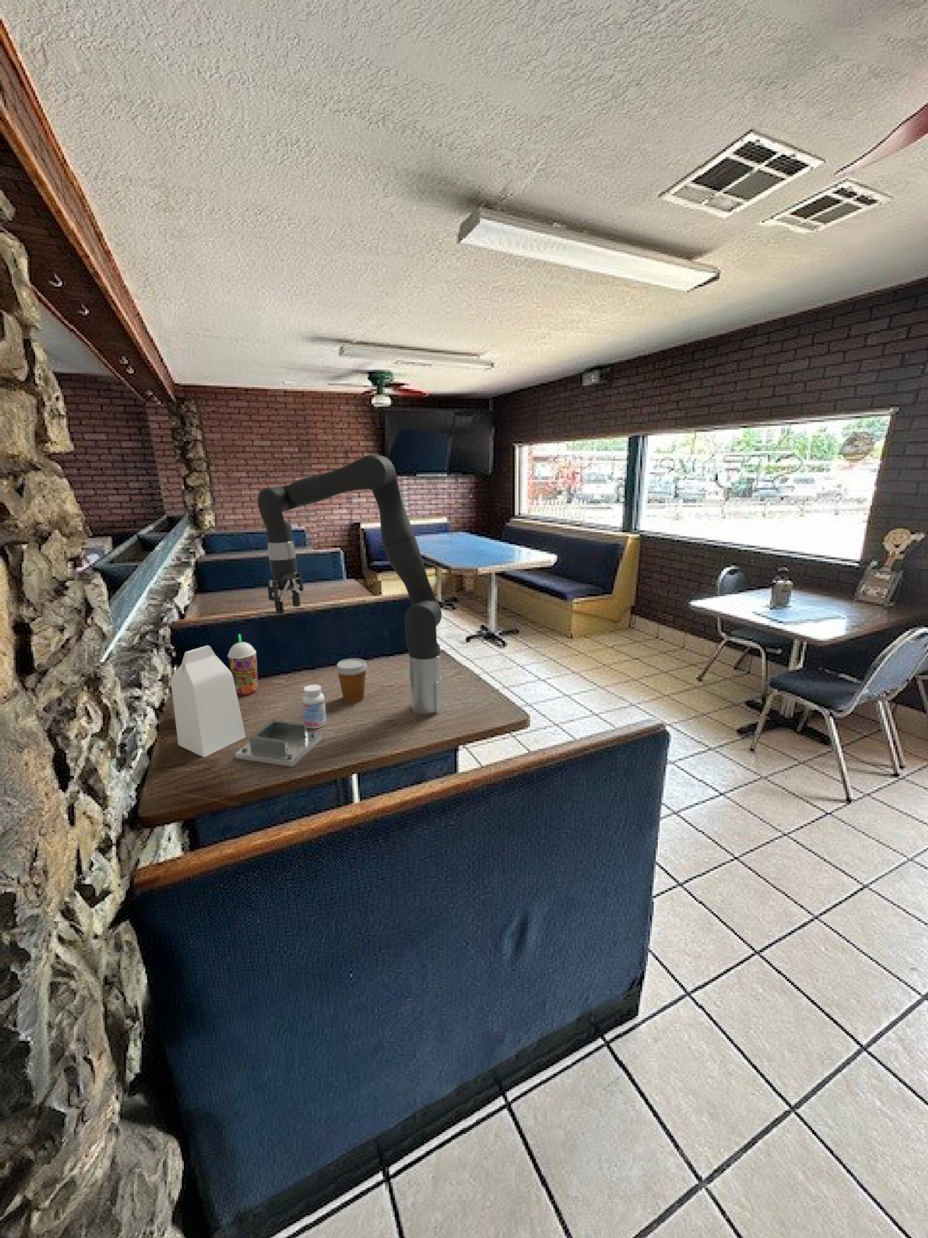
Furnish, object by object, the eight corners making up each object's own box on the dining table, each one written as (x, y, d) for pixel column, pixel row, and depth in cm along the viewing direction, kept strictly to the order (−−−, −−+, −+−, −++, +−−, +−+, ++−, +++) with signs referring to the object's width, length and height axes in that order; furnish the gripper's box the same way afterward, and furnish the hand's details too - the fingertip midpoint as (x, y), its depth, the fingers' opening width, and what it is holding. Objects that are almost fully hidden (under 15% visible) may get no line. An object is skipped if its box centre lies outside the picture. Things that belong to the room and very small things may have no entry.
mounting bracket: (322, 738, 136) (320, 721, 135) (292, 766, 123) (290, 748, 122) (269, 731, 140) (267, 715, 139) (236, 758, 127) (233, 740, 126)
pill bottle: (299, 727, 143) (296, 690, 140) (313, 717, 148) (309, 682, 145) (318, 731, 141) (314, 693, 138) (331, 721, 146) (327, 685, 143)
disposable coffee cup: (365, 705, 156) (363, 669, 152) (335, 705, 156) (331, 669, 153) (372, 692, 165) (369, 657, 162) (342, 692, 165) (340, 657, 162)
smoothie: (234, 700, 160) (225, 640, 155) (232, 690, 167) (224, 632, 162) (262, 695, 164) (255, 635, 158) (259, 685, 171) (252, 629, 165)
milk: (204, 757, 128) (187, 660, 121) (178, 745, 134) (161, 652, 127) (245, 736, 138) (233, 646, 131) (220, 726, 144) (206, 639, 136)
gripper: (278, 561, 143) (285, 616, 147) (306, 553, 156) (312, 604, 161) (256, 560, 145) (263, 615, 149) (285, 553, 158) (291, 603, 162)
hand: (288, 609), depth 155 cm, fingers open, 8 cm apart
